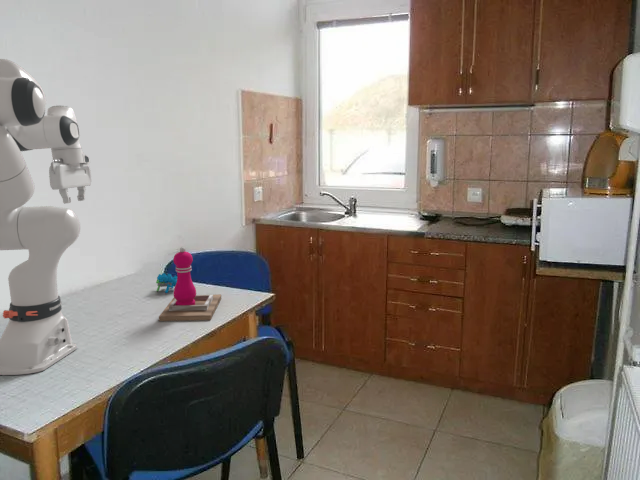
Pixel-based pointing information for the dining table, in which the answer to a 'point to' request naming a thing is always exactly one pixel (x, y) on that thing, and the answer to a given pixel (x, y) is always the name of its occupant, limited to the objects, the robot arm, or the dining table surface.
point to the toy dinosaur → (166, 281)
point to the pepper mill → (184, 279)
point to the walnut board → (191, 309)
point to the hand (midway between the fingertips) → (74, 201)
